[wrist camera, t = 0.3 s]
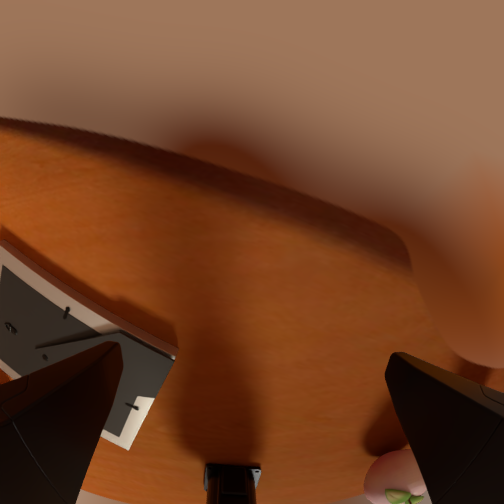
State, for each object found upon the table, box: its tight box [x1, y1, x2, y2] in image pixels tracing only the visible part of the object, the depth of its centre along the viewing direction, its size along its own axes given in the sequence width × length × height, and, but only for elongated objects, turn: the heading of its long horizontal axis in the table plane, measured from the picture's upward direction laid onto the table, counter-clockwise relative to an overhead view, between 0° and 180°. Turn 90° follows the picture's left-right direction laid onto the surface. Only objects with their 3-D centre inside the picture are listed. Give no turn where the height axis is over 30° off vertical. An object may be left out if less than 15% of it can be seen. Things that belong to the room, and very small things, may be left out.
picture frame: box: [0, 240, 179, 450], centre depth 24 cm, size 16×3×21 cm
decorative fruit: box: [364, 449, 427, 504], centre depth 24 cm, size 9×8×10 cm
